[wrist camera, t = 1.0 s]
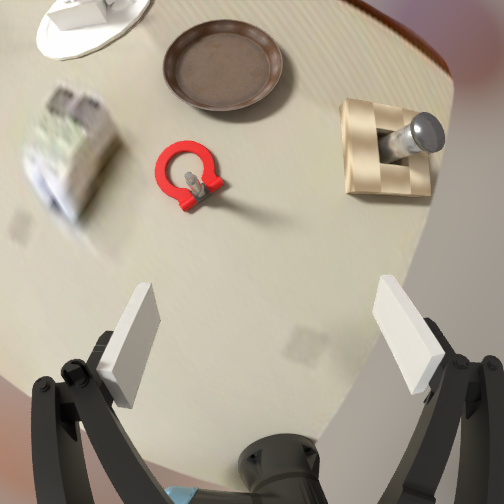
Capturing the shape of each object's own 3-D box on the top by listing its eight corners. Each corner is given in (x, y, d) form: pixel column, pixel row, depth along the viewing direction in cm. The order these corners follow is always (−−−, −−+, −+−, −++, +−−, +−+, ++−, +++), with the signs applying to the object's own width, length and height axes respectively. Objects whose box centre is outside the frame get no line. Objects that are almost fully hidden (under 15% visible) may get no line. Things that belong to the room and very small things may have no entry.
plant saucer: (168, 33, 37) (165, 23, 34) (273, 28, 39) (276, 18, 36) (165, 124, 39) (160, 117, 36) (285, 116, 40) (289, 109, 37)
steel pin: (396, 169, 42) (447, 154, 30) (369, 166, 42) (417, 148, 29) (393, 138, 42) (441, 116, 29) (366, 134, 41) (411, 108, 29)
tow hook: (146, 165, 40) (180, 217, 40) (113, 138, 27) (157, 207, 27) (194, 132, 40) (230, 182, 40) (180, 91, 27) (229, 157, 28)
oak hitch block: (418, 197, 43) (431, 195, 40) (345, 193, 42) (355, 190, 38) (410, 118, 42) (421, 113, 38) (339, 106, 41) (347, 98, 37)
